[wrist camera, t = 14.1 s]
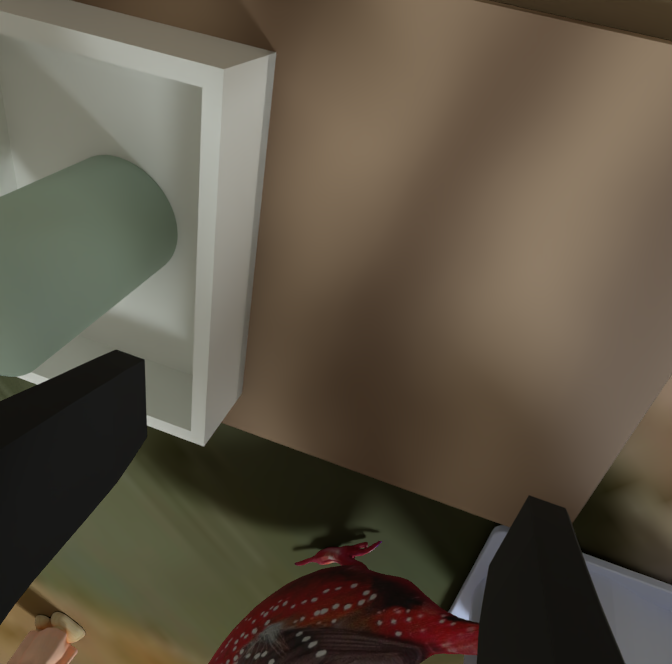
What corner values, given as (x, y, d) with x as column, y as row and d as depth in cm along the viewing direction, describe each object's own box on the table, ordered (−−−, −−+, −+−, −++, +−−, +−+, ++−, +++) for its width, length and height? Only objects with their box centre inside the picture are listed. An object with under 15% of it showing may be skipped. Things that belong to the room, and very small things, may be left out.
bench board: (839, 78, 13) (962, 126, 9) (557, 519, 22) (559, 634, 18) (-176, -148, 17) (-383, -181, 13) (-55, 301, 26) (-156, 357, 22)
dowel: (179, 176, 17) (33, 262, 12) (176, 288, 19) (53, 397, 15) (62, 139, 18) (-120, 208, 13) (73, 252, 20) (-78, 345, 15)
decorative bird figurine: (225, 552, 30) (107, 767, 22) (547, 464, 21) (547, 782, 13) (259, 587, 31) (157, 807, 23) (583, 518, 22) (606, 849, 14)
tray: (276, 52, 15) (223, 68, 12) (241, 393, 22) (203, 446, 19) (-17, -22, 16) (-116, -20, 14) (38, 321, 23) (-21, 362, 21)
